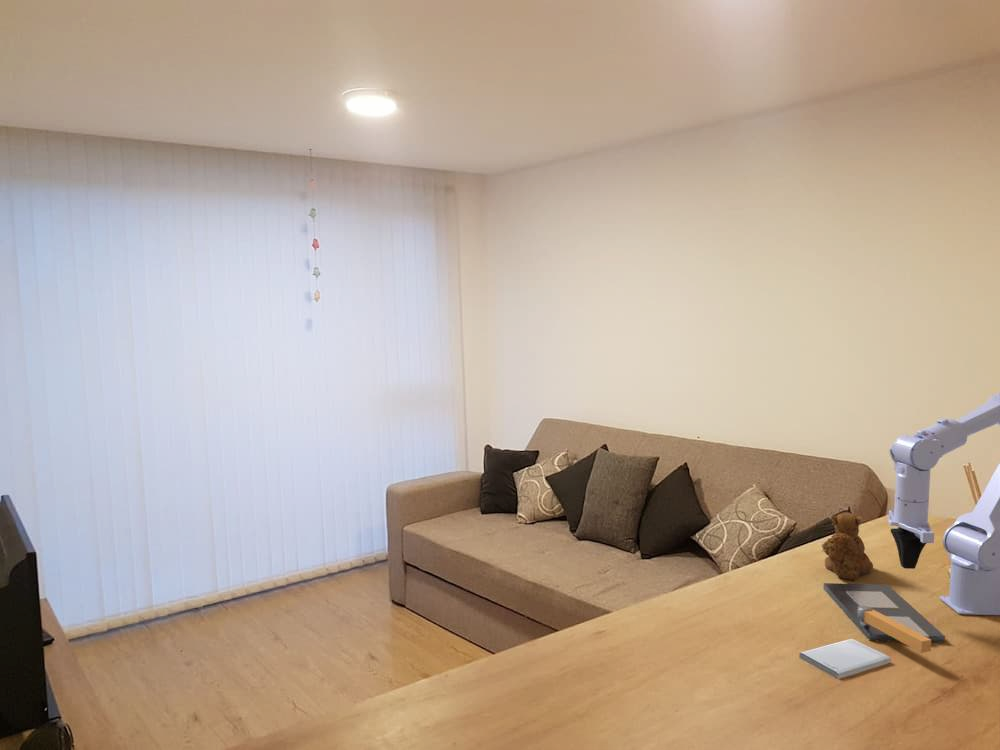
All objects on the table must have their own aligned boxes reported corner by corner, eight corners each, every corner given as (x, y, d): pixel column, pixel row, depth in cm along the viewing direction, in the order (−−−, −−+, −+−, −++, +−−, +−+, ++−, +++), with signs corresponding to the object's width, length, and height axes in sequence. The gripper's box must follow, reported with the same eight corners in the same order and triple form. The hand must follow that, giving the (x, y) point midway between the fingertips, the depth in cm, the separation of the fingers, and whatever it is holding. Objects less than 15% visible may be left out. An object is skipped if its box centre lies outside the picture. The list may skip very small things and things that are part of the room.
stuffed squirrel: (873, 567, 172) (876, 510, 171) (867, 588, 160) (870, 527, 159) (826, 559, 177) (828, 504, 176) (816, 579, 165) (819, 520, 164)
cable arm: (854, 617, 140) (854, 606, 140) (865, 615, 141) (866, 604, 141) (919, 653, 126) (920, 641, 126) (932, 650, 127) (932, 639, 127)
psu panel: (887, 590, 159) (887, 579, 159) (946, 643, 135) (946, 631, 135) (821, 588, 160) (822, 578, 160) (868, 641, 136) (869, 629, 136)
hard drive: (838, 673, 123) (891, 656, 128) (799, 651, 130) (850, 636, 136) (838, 682, 123) (890, 665, 128) (798, 660, 130) (849, 645, 136)
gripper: (874, 488, 152) (871, 553, 154) (907, 509, 138) (903, 581, 139) (910, 489, 152) (907, 554, 153) (947, 509, 137) (943, 581, 139)
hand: (908, 567), depth 146 cm, fingers closed
